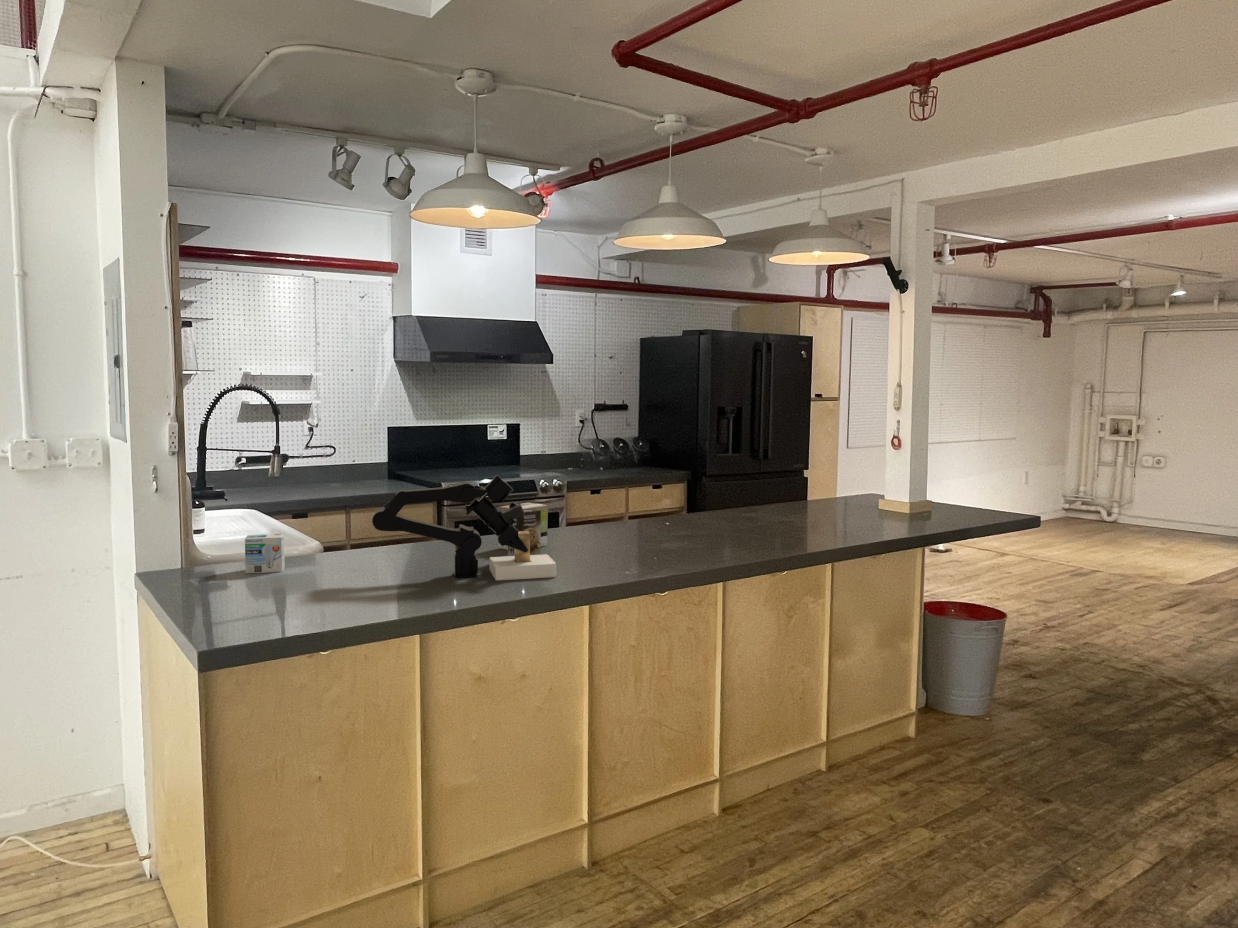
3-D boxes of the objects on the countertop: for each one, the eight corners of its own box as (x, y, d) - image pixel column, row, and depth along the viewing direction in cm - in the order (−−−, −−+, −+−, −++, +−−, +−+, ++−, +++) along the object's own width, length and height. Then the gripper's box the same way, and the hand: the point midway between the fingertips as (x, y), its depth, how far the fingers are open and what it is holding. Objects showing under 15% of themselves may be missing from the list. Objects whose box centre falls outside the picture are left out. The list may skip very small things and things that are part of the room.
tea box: (518, 552, 299) (518, 509, 298) (497, 548, 305) (497, 506, 304) (548, 545, 311) (548, 503, 310) (527, 542, 317) (527, 501, 316)
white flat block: (495, 580, 259) (495, 566, 259) (489, 569, 272) (489, 557, 272) (556, 576, 264) (556, 563, 263) (547, 566, 277) (547, 554, 277)
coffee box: (518, 562, 283) (517, 512, 281) (507, 559, 288) (506, 510, 286) (541, 559, 289) (541, 510, 287) (530, 555, 294) (530, 507, 292)
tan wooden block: (516, 574, 266) (516, 533, 264) (514, 571, 270) (514, 531, 268) (529, 574, 267) (529, 533, 265) (527, 571, 271) (527, 530, 269)
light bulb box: (245, 574, 265) (243, 538, 264) (248, 569, 272) (246, 534, 271) (283, 572, 268) (282, 536, 267) (285, 567, 275) (284, 532, 273)
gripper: (509, 499, 256) (547, 536, 259) (508, 490, 274) (543, 525, 277) (482, 527, 256) (520, 563, 258) (482, 516, 274) (518, 550, 277)
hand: (526, 549), depth 268 cm, fingers closed on tan wooden block, 4 cm apart
